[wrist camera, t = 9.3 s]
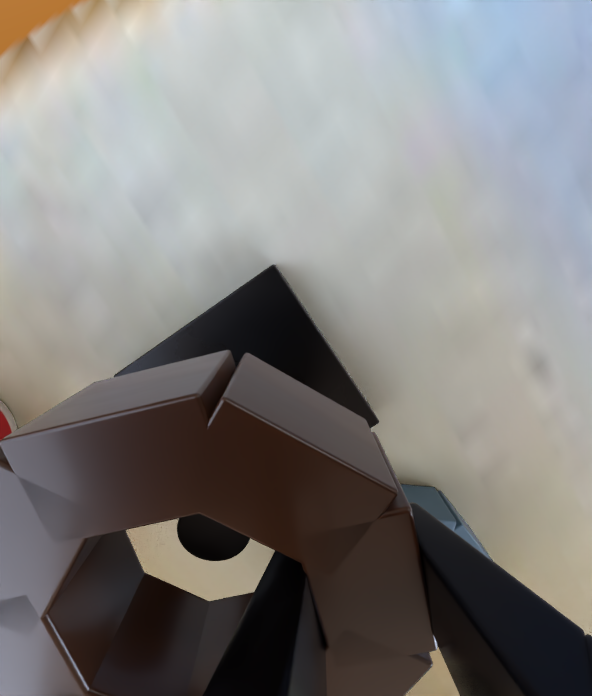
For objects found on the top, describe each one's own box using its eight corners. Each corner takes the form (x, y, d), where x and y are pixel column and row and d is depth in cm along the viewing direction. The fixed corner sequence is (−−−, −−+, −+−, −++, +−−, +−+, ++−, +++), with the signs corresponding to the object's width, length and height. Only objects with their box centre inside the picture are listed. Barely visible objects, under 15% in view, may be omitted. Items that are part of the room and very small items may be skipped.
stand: (233, 497, 19) (183, 713, 10) (124, 368, 17) (-63, 492, 8) (373, 412, 18) (461, 567, 9) (275, 263, 16) (257, 267, 7)
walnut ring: (120, 674, 10) (60, 816, 7) (-18, 409, 8) (-168, 480, 5) (414, 617, 9) (458, 749, 7) (351, 318, 7) (382, 349, 5)
